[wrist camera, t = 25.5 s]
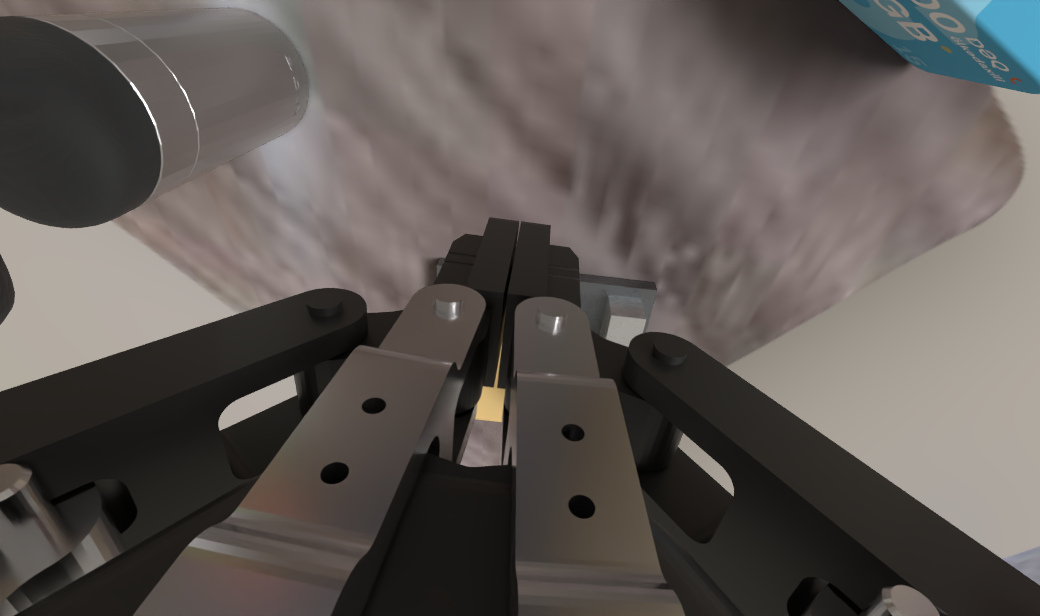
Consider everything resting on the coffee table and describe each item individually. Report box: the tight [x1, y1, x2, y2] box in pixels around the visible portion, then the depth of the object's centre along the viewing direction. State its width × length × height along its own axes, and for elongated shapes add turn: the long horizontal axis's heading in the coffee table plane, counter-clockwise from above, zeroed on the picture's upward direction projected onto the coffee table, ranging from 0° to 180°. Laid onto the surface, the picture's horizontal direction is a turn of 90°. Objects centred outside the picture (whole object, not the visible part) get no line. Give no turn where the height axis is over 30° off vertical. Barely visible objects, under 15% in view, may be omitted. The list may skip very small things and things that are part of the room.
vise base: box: [437, 258, 657, 347], centre depth 48 cm, size 20×16×5 cm
